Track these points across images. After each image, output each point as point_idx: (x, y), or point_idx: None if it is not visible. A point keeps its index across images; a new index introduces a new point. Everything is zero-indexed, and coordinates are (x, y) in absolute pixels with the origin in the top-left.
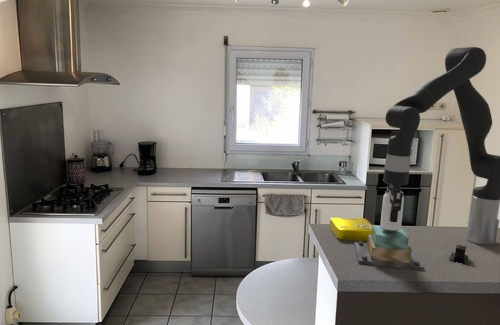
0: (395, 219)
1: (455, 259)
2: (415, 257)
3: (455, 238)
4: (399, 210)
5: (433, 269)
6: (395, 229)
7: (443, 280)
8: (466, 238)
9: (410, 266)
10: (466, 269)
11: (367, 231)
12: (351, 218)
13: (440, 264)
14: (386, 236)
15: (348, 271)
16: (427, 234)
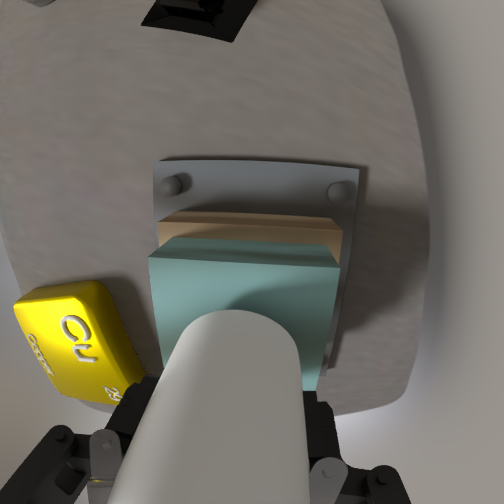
0: (331, 415)
1: (219, 21)
2: (260, 175)
3: (42, 27)
4: (390, 470)
5: (337, 127)
6: (297, 351)
7: (418, 131)
8: (47, 3)
9: (353, 221)
10: (302, 13)
11: (102, 332)
12: (34, 346)
13: (279, 83)
14: (320, 368)
15: (373, 389)
16: (20, 100)
